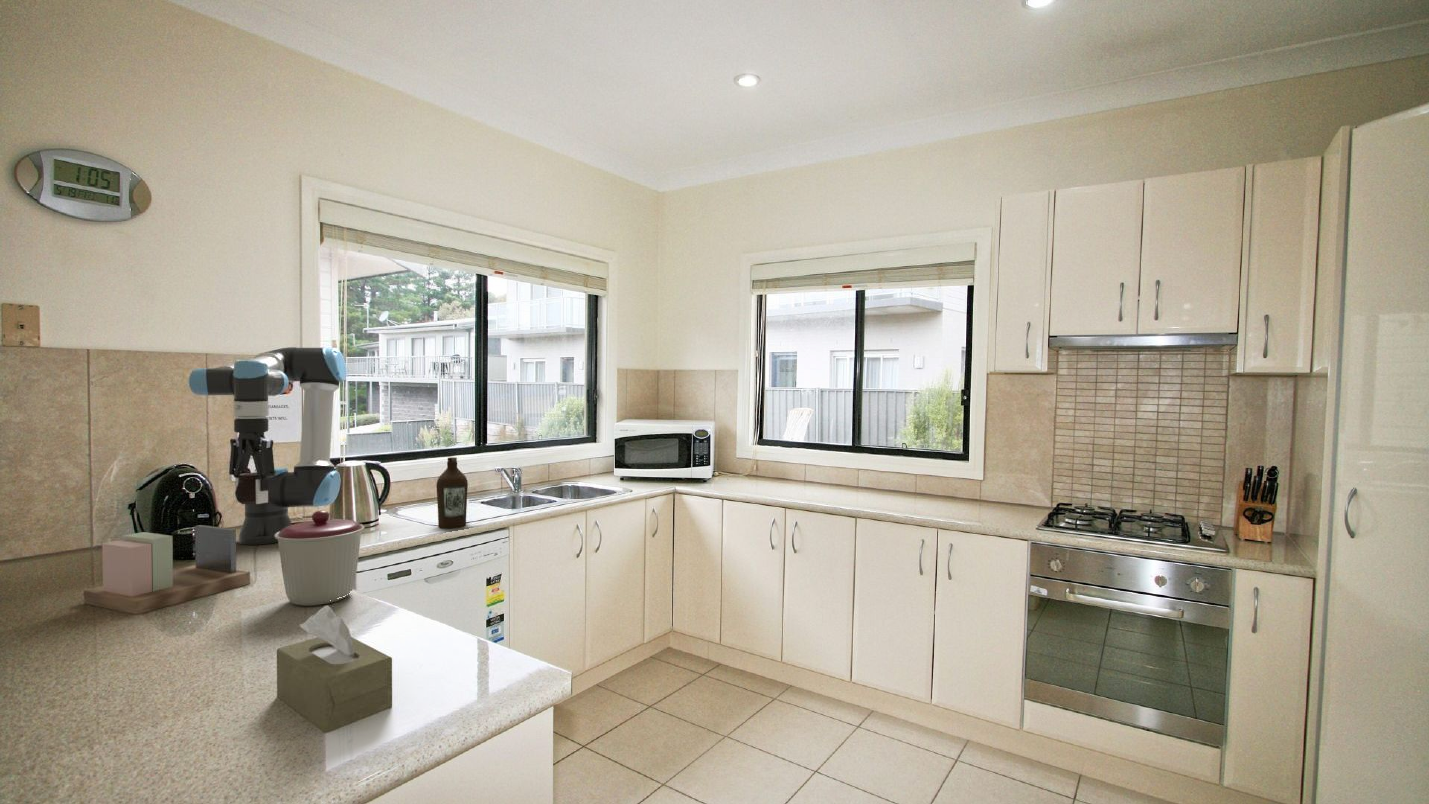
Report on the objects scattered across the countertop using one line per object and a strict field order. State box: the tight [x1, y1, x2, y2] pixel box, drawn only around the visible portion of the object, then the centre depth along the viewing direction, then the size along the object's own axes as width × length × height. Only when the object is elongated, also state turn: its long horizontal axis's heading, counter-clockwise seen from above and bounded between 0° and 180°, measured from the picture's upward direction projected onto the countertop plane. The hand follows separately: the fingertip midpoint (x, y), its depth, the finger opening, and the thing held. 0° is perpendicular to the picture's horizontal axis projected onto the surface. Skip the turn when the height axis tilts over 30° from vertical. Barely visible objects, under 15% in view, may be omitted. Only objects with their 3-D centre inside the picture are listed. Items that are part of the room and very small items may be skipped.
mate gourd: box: [234, 472, 263, 505], centre depth 172 cm, size 7×8×10 cm
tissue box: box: [276, 604, 393, 734], centre depth 101 cm, size 19×10×16 cm, turn 53°
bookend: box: [194, 524, 237, 574], centre depth 164 cm, size 1×14×11 cm, turn 69°
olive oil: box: [435, 456, 469, 529], centre depth 233 cm, size 11×11×25 cm
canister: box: [274, 510, 365, 607], centre depth 151 cm, size 18×18×21 cm
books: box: [101, 531, 174, 597], centre depth 148 cm, size 8×11×12 cm
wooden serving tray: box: [83, 564, 251, 615], centre depth 155 cm, size 24×20×3 cm
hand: (252, 502), depth 172 cm, fingers closed on mate gourd, 7 cm apart
